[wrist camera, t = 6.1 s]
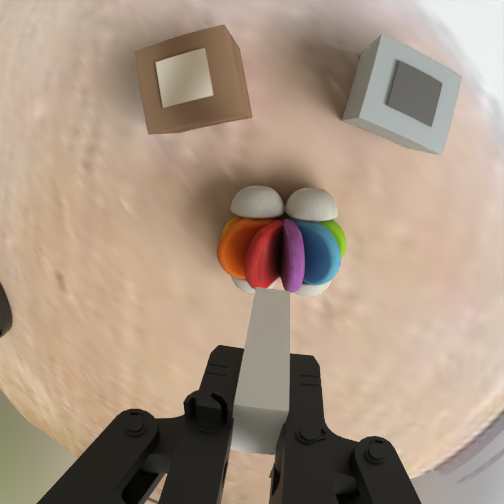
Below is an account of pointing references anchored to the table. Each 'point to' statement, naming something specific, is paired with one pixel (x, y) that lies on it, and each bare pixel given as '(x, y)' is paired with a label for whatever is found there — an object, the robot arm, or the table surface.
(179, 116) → the walnut block
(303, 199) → the rainbow segmented toy
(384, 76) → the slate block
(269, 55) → the table surface
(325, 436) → the robot arm
